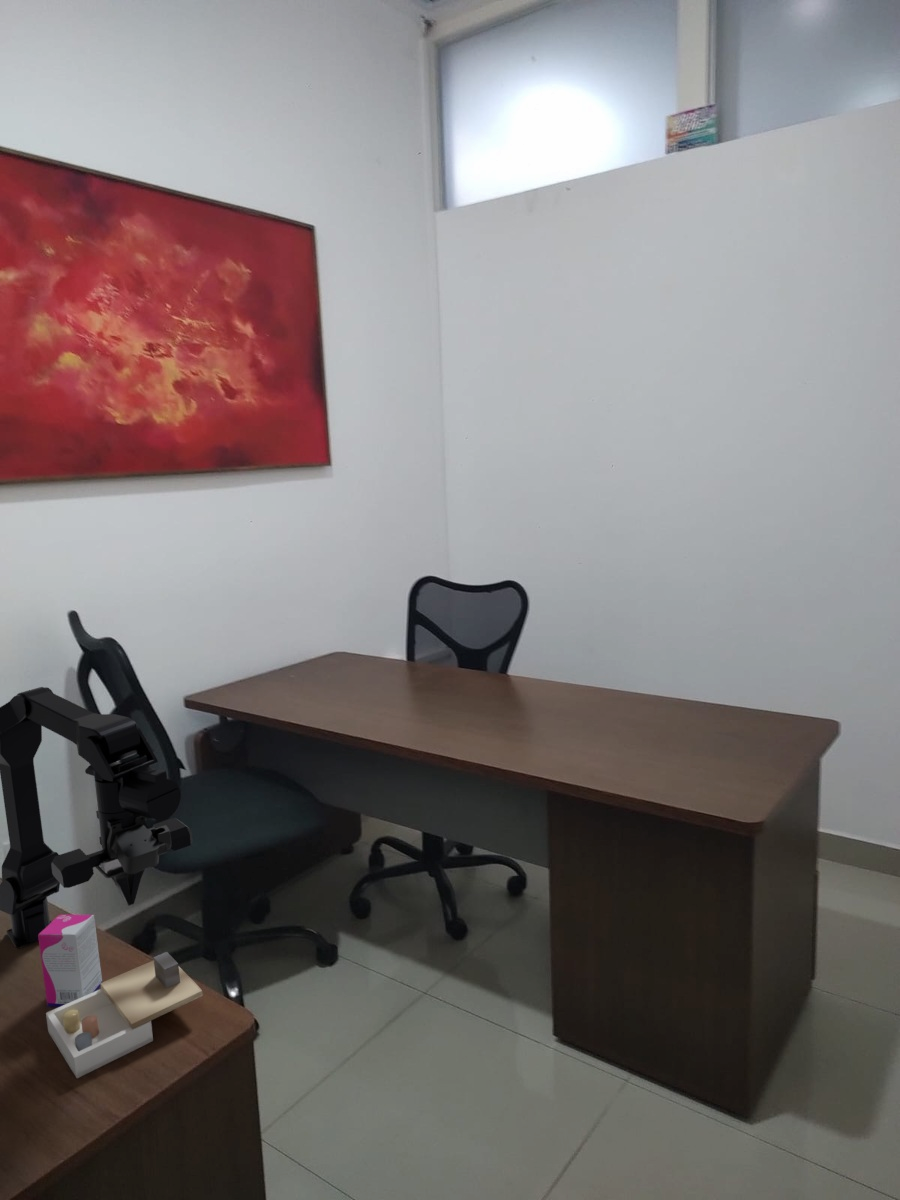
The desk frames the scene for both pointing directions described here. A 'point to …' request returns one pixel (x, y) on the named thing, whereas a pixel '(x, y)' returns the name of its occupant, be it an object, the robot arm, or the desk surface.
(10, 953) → the desk surface
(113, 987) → the lid
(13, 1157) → the desk surface
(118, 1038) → the white storage tray
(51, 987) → the supplement box
